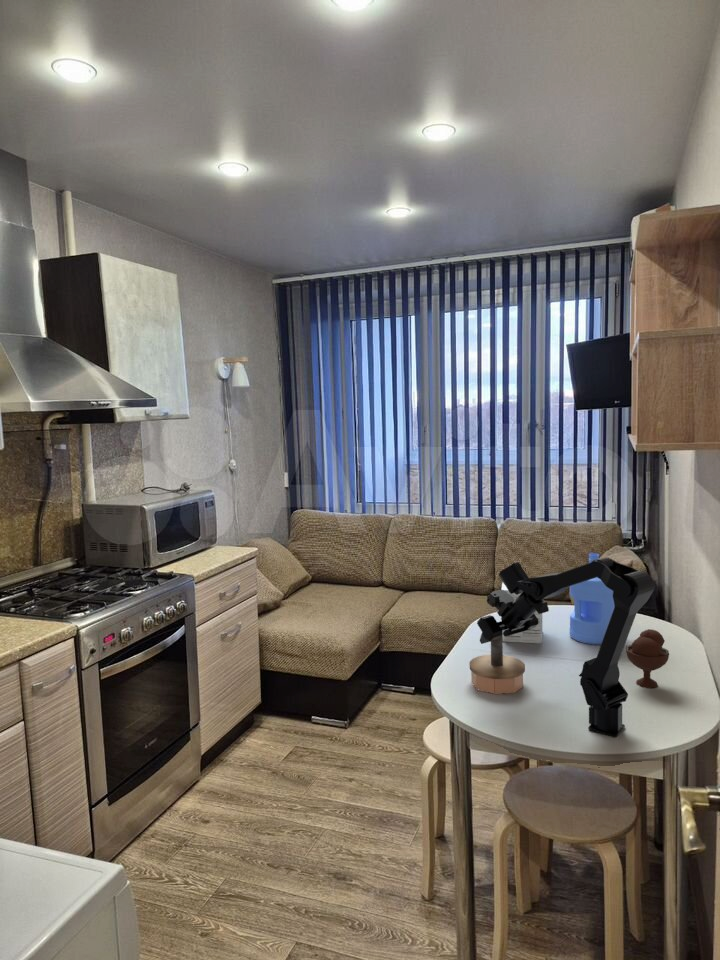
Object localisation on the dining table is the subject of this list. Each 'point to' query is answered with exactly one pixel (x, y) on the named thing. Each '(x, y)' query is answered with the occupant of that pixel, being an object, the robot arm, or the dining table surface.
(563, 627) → the dining table surface
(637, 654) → the ice cream bowl
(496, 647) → the walnut lid
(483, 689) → the terracotta bowl
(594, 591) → the water jug
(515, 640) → the supplement box
